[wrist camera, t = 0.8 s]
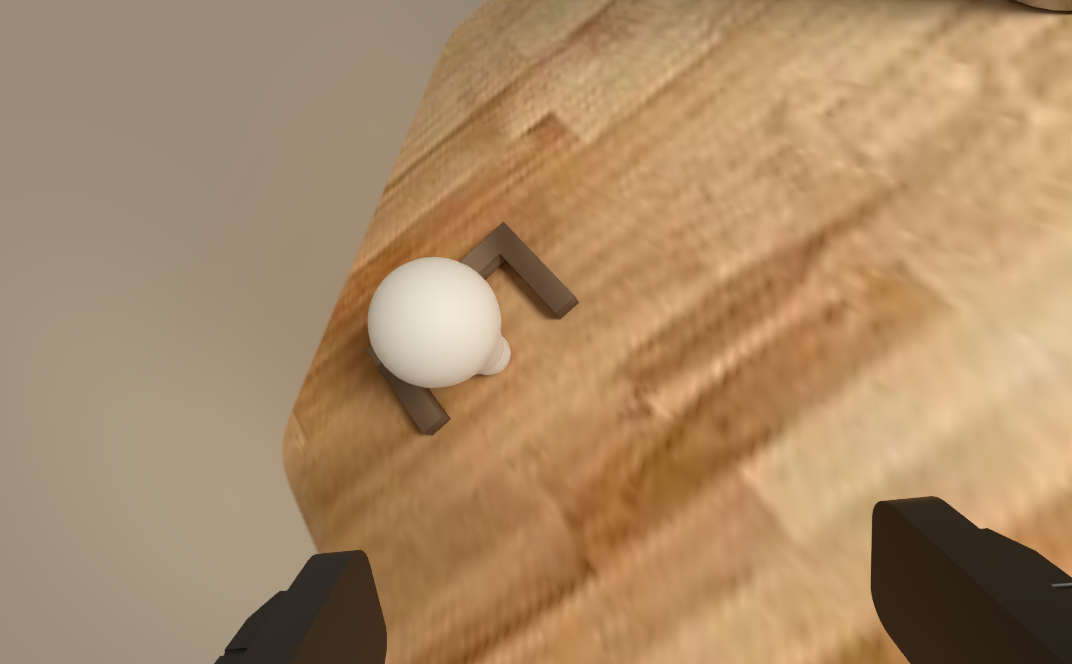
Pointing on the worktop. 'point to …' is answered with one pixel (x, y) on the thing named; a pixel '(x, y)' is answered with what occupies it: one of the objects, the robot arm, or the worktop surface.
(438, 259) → the lightbulb
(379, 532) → the worktop surface
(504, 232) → the walnut holder
